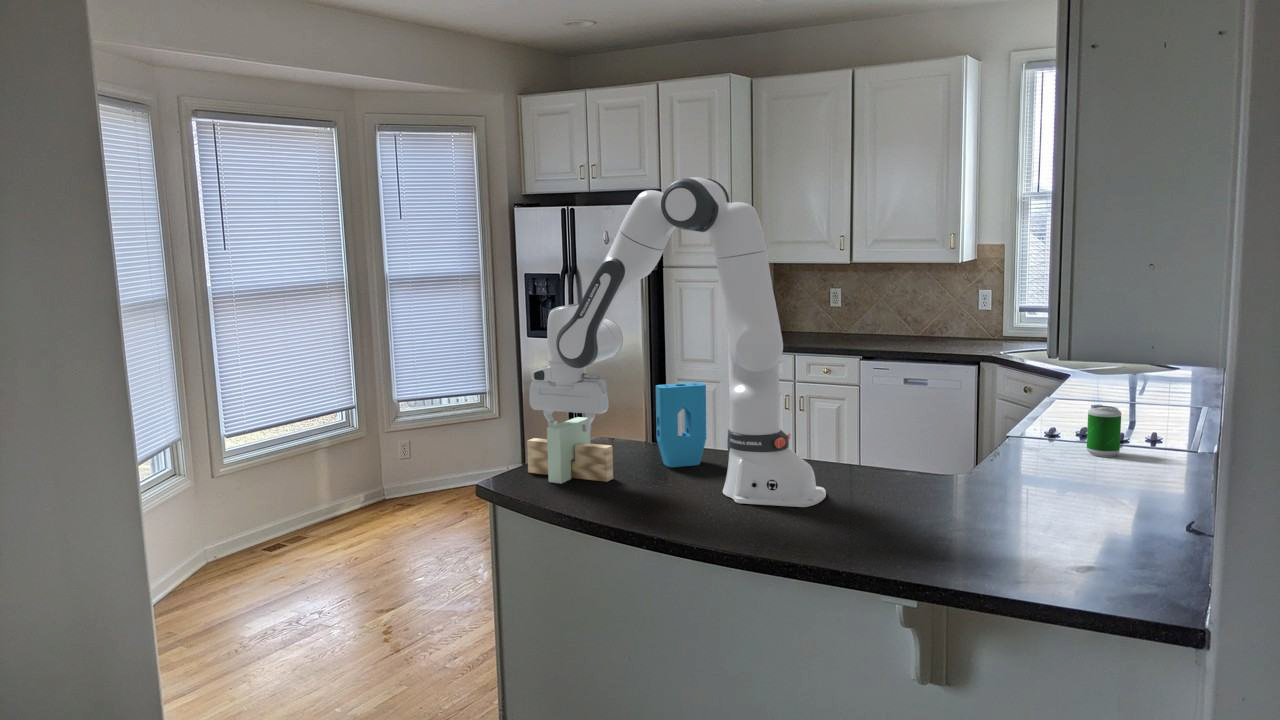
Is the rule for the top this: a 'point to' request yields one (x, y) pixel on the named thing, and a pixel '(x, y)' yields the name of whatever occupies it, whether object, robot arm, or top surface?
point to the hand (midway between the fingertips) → (569, 429)
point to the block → (667, 408)
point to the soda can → (1103, 431)
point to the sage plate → (564, 447)
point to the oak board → (574, 460)
